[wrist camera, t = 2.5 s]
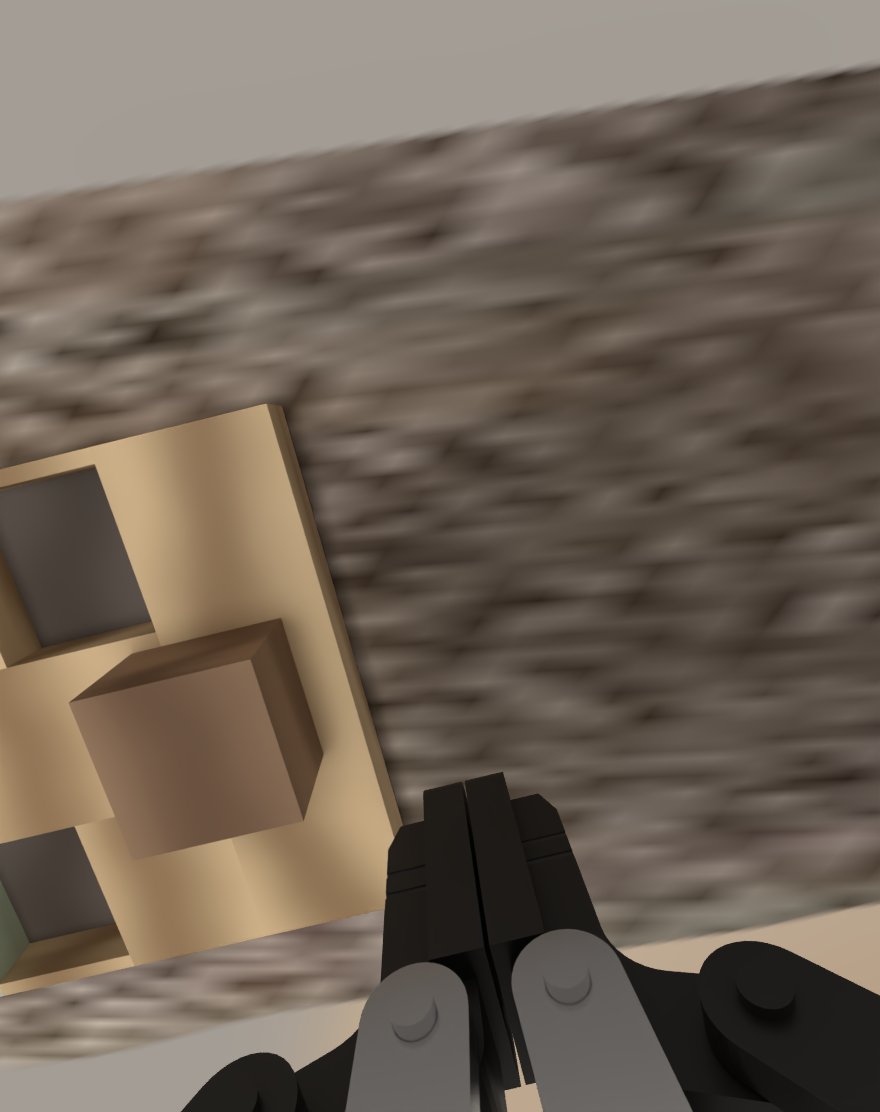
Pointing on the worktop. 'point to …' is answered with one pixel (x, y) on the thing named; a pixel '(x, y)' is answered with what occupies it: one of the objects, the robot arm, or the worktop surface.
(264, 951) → the worktop surface
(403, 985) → the robot arm
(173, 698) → the block
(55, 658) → the board
